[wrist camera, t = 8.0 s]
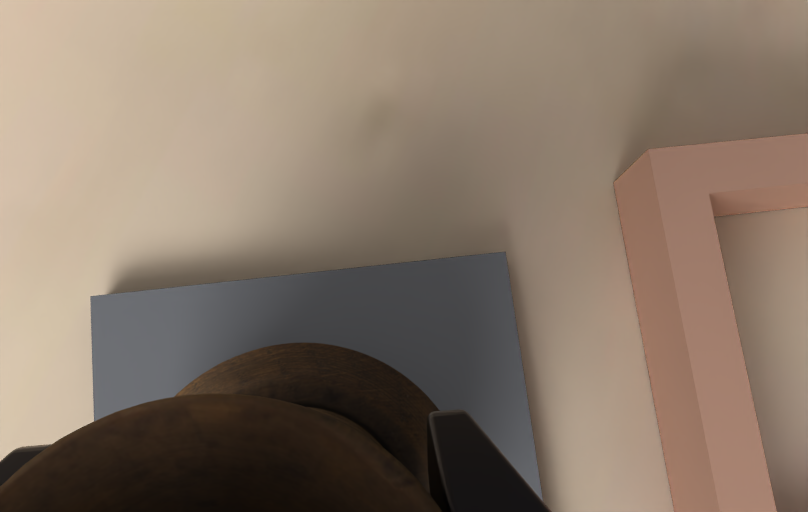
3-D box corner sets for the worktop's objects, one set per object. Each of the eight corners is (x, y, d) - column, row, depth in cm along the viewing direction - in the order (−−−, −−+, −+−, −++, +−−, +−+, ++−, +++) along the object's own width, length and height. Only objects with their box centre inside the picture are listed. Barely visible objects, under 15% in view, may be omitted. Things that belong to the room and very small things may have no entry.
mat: (562, 684, 17) (572, 697, 16) (117, 750, 16) (104, 767, 15) (499, 258, 19) (505, 251, 18) (102, 301, 18) (90, 296, 17)
